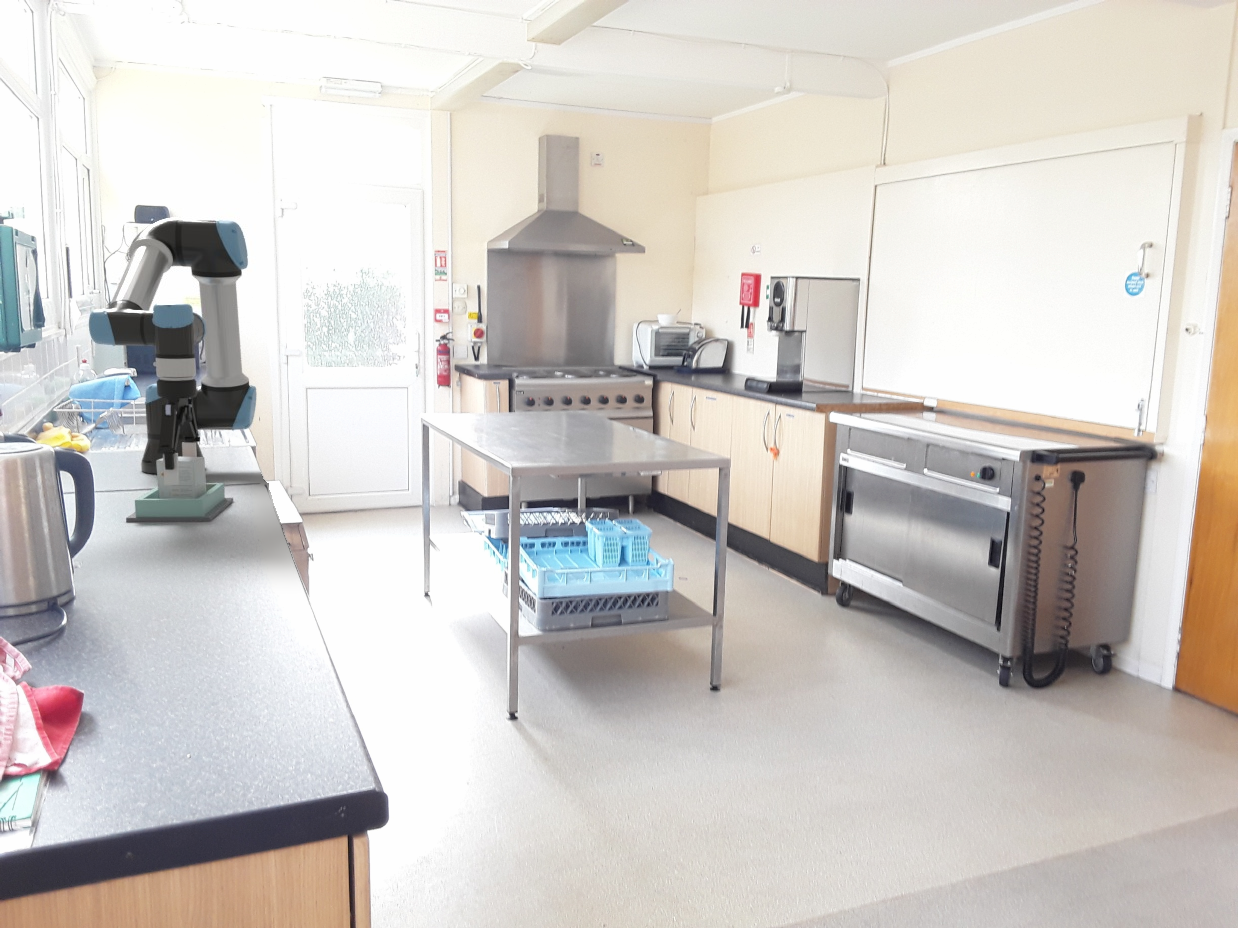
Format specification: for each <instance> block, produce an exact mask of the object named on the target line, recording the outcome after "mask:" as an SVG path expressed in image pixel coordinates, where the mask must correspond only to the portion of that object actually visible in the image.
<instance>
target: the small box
mask: <svg viewBox="0 0 1238 928" xmlns="http://www.w3.org/2000/svg"><path fill="white" fill-rule="evenodd" d="M156 464H157V474H156V478H157V486H158V495H159V499H198V498H199V497H201V496H202V495H203V494H205V493H206V483H207V480H206V461H205V457H204V456H203V457H178V465H179V485H164V468H163V458H162V459H159V460H157V461H156Z"/></svg>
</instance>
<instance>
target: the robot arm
mask: <svg viewBox="0 0 1238 928" xmlns="http://www.w3.org/2000/svg"><path fill="white" fill-rule="evenodd" d="M128 258H129V261H128V263H127V266H126V268H125V269H124V271H123V275H122V276H121V279H120V281H119V284H118V285H117V289H116V291H115V292H114V295H113V297H112V300H111V302H110V304H109V306H108V308H101V309H100V308H98V309H93V310H92V311H91V312H90V314H89V319H88V331H89V335H90V337H91V338H90V339H92V341H93V342H94V343H95V344H97V345H105V346H106V345H108V346H113V347H116V346H146V347H147V346H149V347H154V353H155V354H154V355H155V357H154V358H155V361H153V363H152V364H153V365H152V366H154V367H156V368H155V371H156V376H157V380H156V383H153V384H152V383H151V384H150V385H148V386H147V387H146V388H145V401H144V405H145V417H146V434H147V435H146V437H147V442H146V445H145V448H144V452H143V455H142V459H141V462H140V466H141V472H144V473H146V474H156V475H157V464H156V461H157V460H159V459H162V458H163V468H164V485H179V465H178V457H204V454H203V453H202V450H201V447H200V445H199V443H200V441H201V437H200V434H199V430H200V431H201V430H203V431H204V430H205V431H218V430H219V431H220V430H221V431H233V432H234V431H235V430H236V431H237V430H239V431H240V430H247V429H249V428H251V426H252V424H253V422H254V417H255V412H256V406H257V388H256V386H254V385H253V384H252V385H250V379H249V377H248V376H247V375H245V374H244V373H243V366H242V365H243V364H242V363H243V362H242V352H241V338H240V323H239V321H240V320H239V309H238V308H239V306H238V294H237V292H238V291H237V281H238V280H239V279H240V278H241V277H242V276H243V275H242V271H243V270H245V269H247V268H248V264H249V260H248V259H249V258H248V249H247V243H246V238H245V235H244V232H243V230H242V228H241V226H240V225H239V224H238V223H237V222H235V221H232V220H227V219H226V220H225V219H217V218H214V219H213V218H182V217H168V218H164V219H160V220H158V221H156V222H154V223H152V224H150V225H148V226H147V227H145V228H144V229H142V231H140V232H139V233H138V234H137V235H136V236H135V237H134V238H133V240H132V241H131V244H130V246H129V250H128ZM172 267H183V268H184V267H187V268H190V270H191V276H193V278H194V279H196V281H197V282H198V287H199V297H200V308H201V315H199V314H198V313H196V312H194V311H193V310H194V309H193V306H192V305H191V304H190V303H176V302H173V303H172V302H170V303H169V302H158V303H155V304H154V306H153V307H152V310H150V308H151V306H152V304H153V301H154V298H155V295H156V293H157V291H158V288H159V286H160V283H161V281H162V279H163V276H164V274H165V273H167V272H168V271H169V270H171V268H172ZM202 341H203V343H204V344H203V346H204V358H205V359H204V360H205V370H206V374H205V375H204V376H203V377H202V378H201V379H200V385H197V380H196V379H195V377H196V376H197V367H196V365H197V363H196V353H195V352H196V351H195V348H196V347H195V346H197V345H198V344H200V343H201V342H202ZM158 378H159V379H158Z"/></svg>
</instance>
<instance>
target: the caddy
mask: <svg viewBox="0 0 1238 928" xmlns="http://www.w3.org/2000/svg"><path fill="white" fill-rule="evenodd" d="M233 502H234V497H226V496H225V483H224V482H211V483H210V482H206V493H205V494H203V495H202V496H201V497H199V498H198V499H159V495H158V485H157V486H156V487H154V488H152V489H150V490H149V491H147V492H146V493H144V494H143V495H140V496H139V497H138V498H136V499H135V500H134V512H133V513H132V514H130V515H128V516H127V517H126V518H125V523H136V522H137V523H143V522H144V523H147V522H148V523H149V522H150V523H151V522H153V523H155V522H160V523H161V522H164V523H166V522H167V523H168V522H172V523H173V522H176V523H177V522H211V521H212V520H213V519H215V518H216V517H217V516H218V515H219V514H220V513H222V512H223V511H224V510H225V509H226V508H228V507H229V505H231V504H232V503H233Z"/></svg>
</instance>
